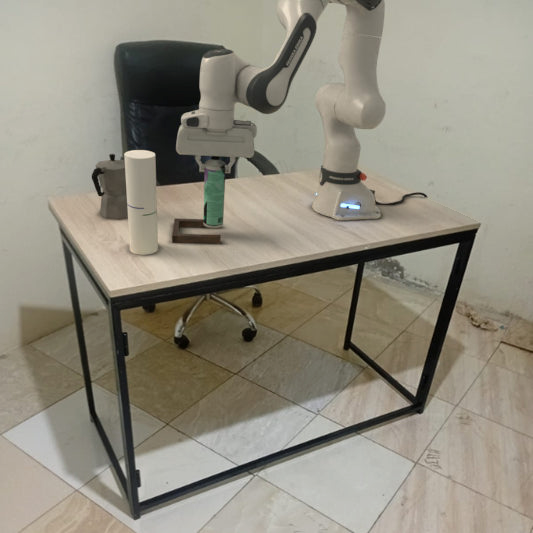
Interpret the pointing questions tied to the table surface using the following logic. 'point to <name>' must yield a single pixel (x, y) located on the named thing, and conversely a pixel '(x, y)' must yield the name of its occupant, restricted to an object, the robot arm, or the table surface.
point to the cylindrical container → (141, 201)
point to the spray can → (214, 192)
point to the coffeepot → (111, 188)
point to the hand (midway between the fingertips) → (214, 171)
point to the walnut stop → (192, 237)
